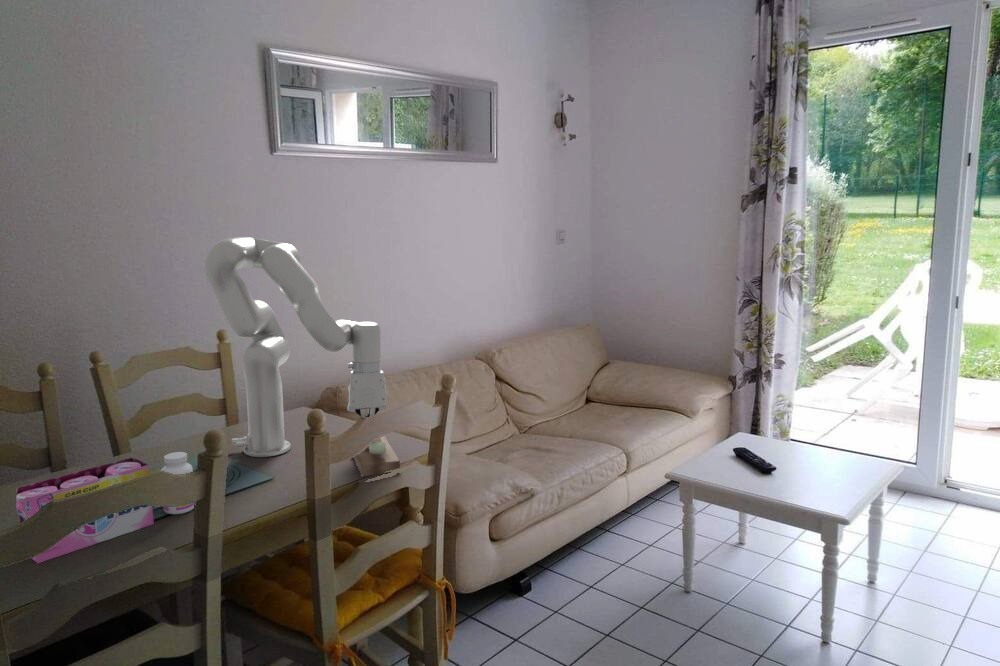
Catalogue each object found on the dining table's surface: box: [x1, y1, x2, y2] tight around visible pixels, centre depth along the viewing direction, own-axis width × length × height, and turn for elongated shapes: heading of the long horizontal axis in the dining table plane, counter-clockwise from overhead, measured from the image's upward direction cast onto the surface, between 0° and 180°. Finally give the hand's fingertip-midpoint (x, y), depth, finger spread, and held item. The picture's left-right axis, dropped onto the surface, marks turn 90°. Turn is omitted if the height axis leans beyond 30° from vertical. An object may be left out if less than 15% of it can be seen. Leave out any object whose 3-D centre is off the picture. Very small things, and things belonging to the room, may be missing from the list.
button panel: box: [353, 435, 401, 477], centre depth 191 cm, size 10×22×3 cm, turn 20°
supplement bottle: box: [160, 451, 195, 515], centre depth 158 cm, size 7×7×13 cm
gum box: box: [15, 457, 154, 564], centre depth 143 cm, size 24×8×14 cm, turn 142°
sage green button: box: [369, 441, 386, 454], centre depth 184 cm, size 4×4×2 cm
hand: (367, 430), depth 197 cm, fingers closed
